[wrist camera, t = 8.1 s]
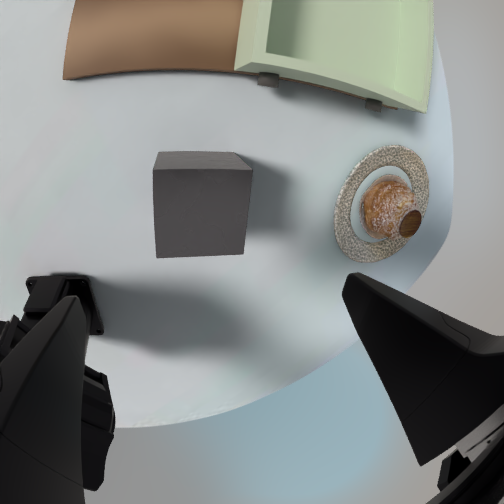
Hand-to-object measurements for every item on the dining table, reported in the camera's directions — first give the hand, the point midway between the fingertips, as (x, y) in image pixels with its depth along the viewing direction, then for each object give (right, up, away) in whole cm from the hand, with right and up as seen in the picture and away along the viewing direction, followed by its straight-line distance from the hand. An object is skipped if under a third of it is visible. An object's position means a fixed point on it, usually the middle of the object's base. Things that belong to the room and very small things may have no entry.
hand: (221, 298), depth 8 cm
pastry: (+13, +6, +16) cm, 21 cm away
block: (-3, +6, +10) cm, 12 cm away
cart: (+6, +17, +4) cm, 19 cm away
